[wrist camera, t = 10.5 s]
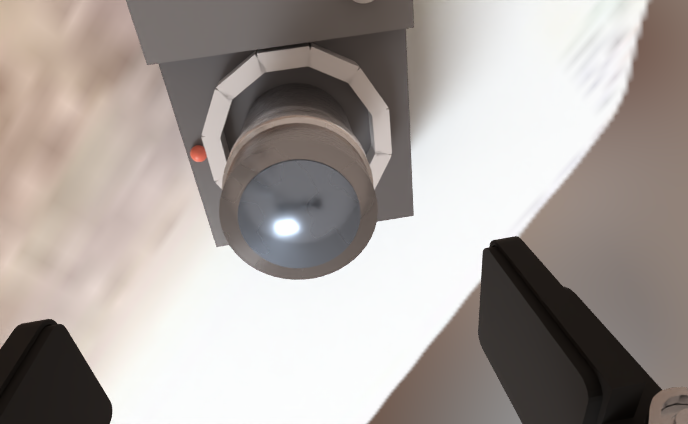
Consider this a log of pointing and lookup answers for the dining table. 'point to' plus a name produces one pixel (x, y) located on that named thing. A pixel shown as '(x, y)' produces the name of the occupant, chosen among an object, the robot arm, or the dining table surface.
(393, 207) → the grey ring-socket block
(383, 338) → the dining table surface
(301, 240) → the lens
